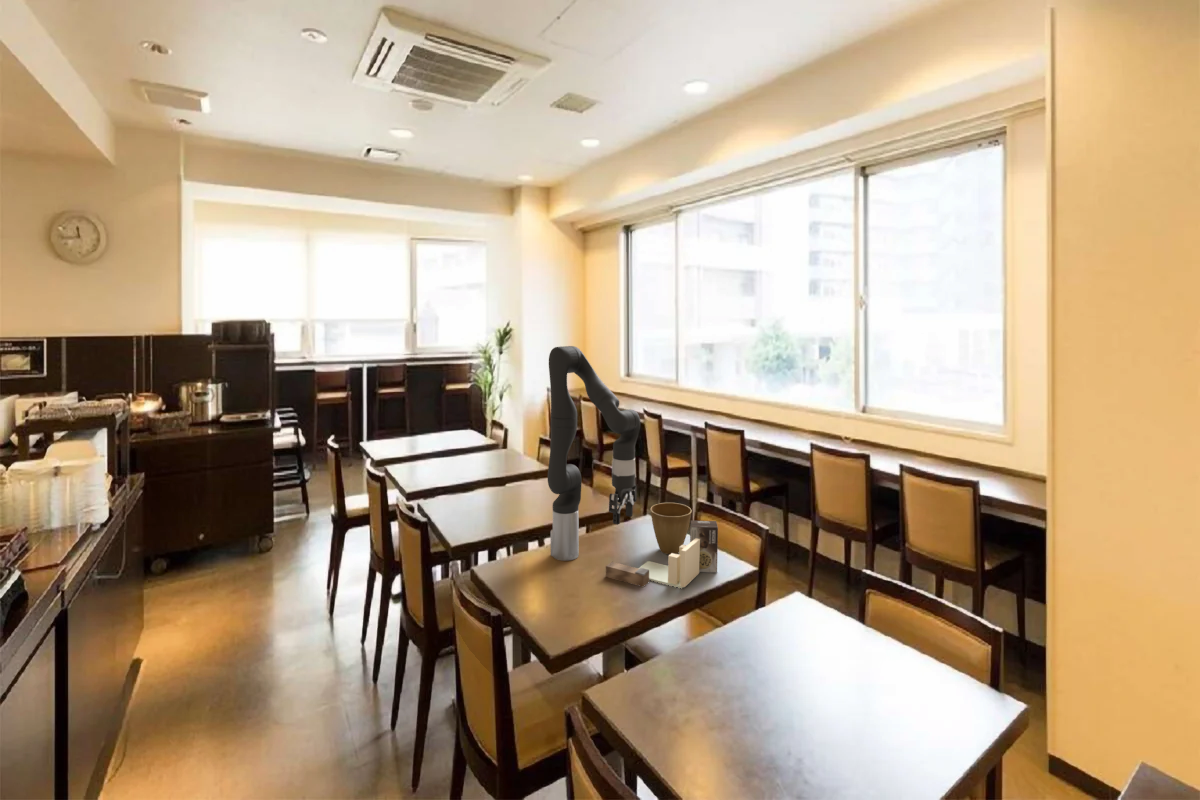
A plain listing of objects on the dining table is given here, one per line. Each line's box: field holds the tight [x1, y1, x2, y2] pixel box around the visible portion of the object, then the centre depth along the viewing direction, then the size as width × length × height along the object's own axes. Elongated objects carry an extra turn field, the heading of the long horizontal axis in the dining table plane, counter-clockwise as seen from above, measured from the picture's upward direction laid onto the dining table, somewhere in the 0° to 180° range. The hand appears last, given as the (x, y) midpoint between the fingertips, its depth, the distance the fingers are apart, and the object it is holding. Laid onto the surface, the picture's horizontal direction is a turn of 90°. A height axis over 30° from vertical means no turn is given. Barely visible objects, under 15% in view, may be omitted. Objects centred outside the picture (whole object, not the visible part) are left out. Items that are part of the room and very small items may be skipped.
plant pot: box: [650, 502, 693, 555], centre depth 218 cm, size 15×15×16 cm
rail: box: [605, 561, 650, 587], centre depth 196 cm, size 14×4×4 cm, turn 59°
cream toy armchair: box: [637, 538, 700, 590], centre depth 198 cm, size 19×12×13 cm, turn 59°
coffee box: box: [689, 519, 719, 573], centre depth 203 cm, size 9×6×16 cm
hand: (622, 519), depth 194 cm, fingers open, 8 cm apart
